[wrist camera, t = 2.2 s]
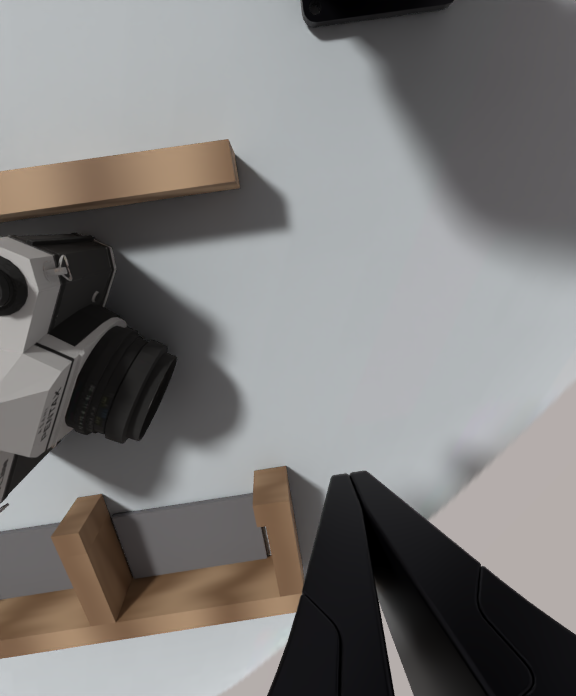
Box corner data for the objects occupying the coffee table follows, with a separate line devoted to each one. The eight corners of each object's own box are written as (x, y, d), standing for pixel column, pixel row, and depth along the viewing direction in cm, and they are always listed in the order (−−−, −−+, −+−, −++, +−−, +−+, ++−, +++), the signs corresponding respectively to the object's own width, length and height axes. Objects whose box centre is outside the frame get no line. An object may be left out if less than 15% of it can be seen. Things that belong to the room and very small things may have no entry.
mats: (254, 492, 23) (254, 496, 23) (267, 554, 25) (267, 558, 25) (-54, 539, 23) (-58, 543, 23) (-20, 599, 25) (-23, 603, 24)
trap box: (234, 153, 17) (228, 139, 14) (302, 567, 25) (307, 610, 23) (-275, 225, 17) (-385, 225, 14) (-35, 619, 25) (-73, 670, 22)
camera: (139, 476, 23) (71, 617, 14) (4, 440, 21) (-167, 572, 12) (207, 277, 20) (176, 297, 11) (58, 219, 18) (-110, 193, 10)
